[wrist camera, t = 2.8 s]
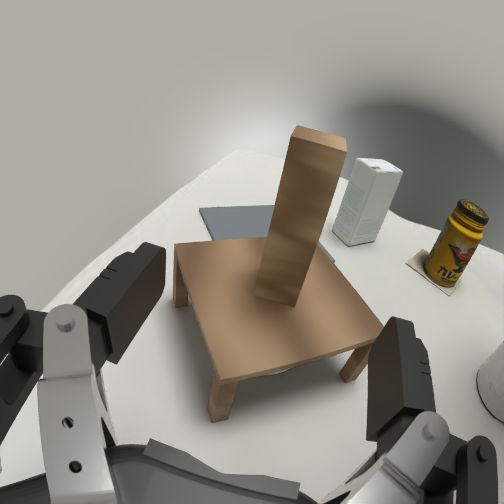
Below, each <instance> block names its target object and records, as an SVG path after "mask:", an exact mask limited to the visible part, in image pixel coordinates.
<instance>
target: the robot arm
mask: <svg viewBox="0 0 504 504" xmlns="http://www.w3.org/2000/svg"><path fill="white" fill-rule="evenodd" d="M165 271H166V250H165V248H163V247H160V246H157V245H154V244H151V243H147V242H144V243H142V244H141V245H140V246H139V248H138V249H137V250H136V251H135V252H134V253H131V252H128V251H127V252H125V253H123V254H121V255H120V256H118V257H116V258H114V259H113V260H112V262H111V263H110V264H109V265H108V266H107V267H106V269H104V270H103V271H102V272H101V273H100V275H99V276H98V277H97V278H96V279H95V280H94V281H93V282H92V283H91V284H90V285H89V286H88V288H87V289H86V290H85V291H84V292H83V293H82V294H81V295H80V297H79V298H78V299H77V300H76V301H75V302H74V303H73V304H64V305H60V306H57V307H55V308H53V309H52V310H51V311H50V312H49V313H46V312H40V311H34V310H28V309H26V306H25V303H24V301H23V300H22V299H21V298H20V297H19V296H16V295H6V296H2V297H0V364H1V362H2V361H3V359H4V358H5V357H6V355H7V354H8V356H7V357H6V358H5V360H4V361H3V363H2V364H1V365H0V445H1V443H2V441H3V440H4V438H5V436H6V434H7V432H8V431H9V429H10V427H11V425H12V423H13V422H14V420H15V418H16V416H17V415H18V413H19V411H20V410H21V408H22V406H23V404H24V403H25V401H26V399H27V398H28V396H29V395H30V393H31V391H32V390H33V388H34V386H35V385H36V383H37V382H38V384H37V396H38V412H39V425H40V435H41V443H42V451H43V458H44V465H45V471H46V473H43V474H40V475H37V476H34V477H31V478H28V479H25V480H22V481H19V482H16V483H13V484H10V485H6V486H3V487H0V504H453V492H454V490H456V489H457V492H456V504H498V475H497V459H496V451H495V448H494V445H493V444H492V442H491V441H490V440H489V439H488V438H486V437H484V436H475V437H474V438H472V439H471V440H469V441H468V442H467V441H465V440H462V439H460V438H458V437H456V436H454V435H452V434H450V433H449V428H448V425H447V423H446V421H445V420H444V419H443V418H442V417H441V416H440V415H439V414H437V413H436V409H435V400H434V392H433V385H432V378H431V376H430V374H431V371H430V366H429V359H428V353H427V350H426V348H425V346H424V344H423V343H422V341H421V339H419V338H416V336H415V330H414V325H413V322H411V321H408V320H404V319H401V318H397V317H391V318H390V319H389V320H388V322H387V323H386V325H385V326H384V328H383V330H382V331H381V333H380V334H379V336H378V337H377V339H376V340H375V342H374V343H373V345H372V347H371V349H370V352H369V356H368V405H367V431H366V440H367V441H374V442H377V449H376V450H374V451H373V452H372V453H371V454H370V456H369V457H368V458H367V459H366V460H365V461H364V462H363V463H362V464H361V465H360V466H359V467H358V468H357V469H356V470H355V471H354V472H353V473H352V474H351V475H350V476H349V477H348V478H347V479H346V480H345V481H344V482H343V483H342V484H341V485H340V486H339V487H337V488H336V489H335V490H334V491H332V492H331V493H329V494H328V495H327V496H326V497H324V498H323V499H322V500H321V501H319V502H318V503H317V502H316V501H314V500H313V499H312V498H311V497H309V496H307V495H306V494H304V493H302V492H300V491H299V487H300V483H298V482H293V481H288V480H283V479H278V478H274V477H269V476H265V475H235V474H223V473H220V472H218V471H216V470H214V469H213V468H211V467H209V466H208V465H206V464H204V463H203V462H201V461H199V460H198V459H196V458H194V457H193V456H191V455H190V454H188V453H187V452H184V451H181V450H179V449H176V448H173V447H171V446H168V445H166V444H163V443H161V442H158V441H156V440H153V439H151V438H150V440H149V442H148V444H147V445H138V444H126V445H118V442H117V438H116V435H115V431H114V428H113V425H112V421H111V418H110V413H109V408H108V403H107V398H106V393H105V387H104V381H103V375H102V370H101V368H102V366H103V364H104V363H105V361H106V360H107V361H110V362H112V363H114V364H116V365H117V363H118V362H119V360H120V359H121V357H122V355H123V354H124V352H125V351H126V349H127V348H128V346H129V344H130V343H131V341H132V340H133V338H134V337H135V335H136V334H137V332H138V331H139V329H140V327H141V326H142V324H143V323H144V321H145V320H146V318H147V317H148V315H149V314H150V312H151V311H152V309H153V308H154V306H155V305H156V303H157V302H158V300H159V299H160V297H161V295H162V293H163V290H164V286H165ZM42 374H43V379H39V378H40V377H41V375H42ZM477 383H478V389H479V393H480V395H481V398H482V400H483V402H484V404H485V405H486V407H487V408H488V410H489V411H490V412H491V413H492V414H493V415H494V416H495V417H496V418H497V419H499V420H501V421H502V422H504V341H503V342H502V343H501V345H500V346H499V347H498V348H497V349H496V350H495V351H494V353H493V354H492V355H491V356H490V357H489V358H488V359H487V360H486V361H485V363H484V364H483V365H482V366H481V367H480V369H479V372H478V376H477ZM1 471H2V466H1V458H0V473H1Z"/></svg>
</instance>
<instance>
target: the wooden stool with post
mask: <svg viewBox="0 0 504 504" xmlns="http://www.w3.org/2000/svg"><path fill="white" fill-rule="evenodd" d="M346 154H347V147H346V140H345V139H344V138H341V137H338V136H334V135H331V134H327V133H324V132H320V131H317V130H313V129H309V128H306V127H302V126H296V128H295V130H294V131H293V133H292V135H291V138H290V142H289V146H288V151H287V155H286V159H285V163H284V168H283V172H282V176H281V180H280V185H279V189H278V193H277V197H276V201H275V206H274V210H273V214H272V218H271V222H270V227H269V231H268V235H267V237H256V238H242V239H229V240H216V241H204V242H191V243H179V244H174V273H173V300H174V304H175V307H183V306H188V295H189V298H190V301H191V305H192V308H193V311H194V314H195V317H196V320H197V322H198V325H199V328H200V331H201V334H202V337H203V340H204V343H205V346H206V348H207V351H208V354H209V357H210V359H211V362H212V365H213V368H214V372H213V378H212V384H211V391H210V397H209V404H208V412H209V415H210V418H211V420H212V423H214V422H218V421H222V420H227V419H228V416H229V413H230V410H231V406H232V403H233V399H234V396H235V392H236V389H237V386H238V382H239V381H240V380H245V379H249V378H253V377H257V376H262V375H266V374H270V373H274V372H277V371H281V370H285V369H289V368H293V367H296V366H300V365H303V364H307V363H310V362H314V361H317V360H321V359H324V358H327V357H330V356H334V355H337V354H340V353H343V352H346V351H349V350H352V349H355V350H354V351H353V353H352V355H351V356H350V358H349V359H348V361H347V362H346V364H345V365H344V367H343V368H342V370H341V371H340V375H341V376H342V378H343V379H344V381H345V383H347V382H350V381H352V380H355V379H356V378H357V377H358V376H359V374H360V373H361V372H362V370H363V369H364V368H365V366H366V365H367V364H368V356H369V352H370V349H371V347H372V345H373V343H374V342H375V340H376V339H377V337H378V336H379V334H380V333H381V331H382V330H383V328H384V326H383V325H382V323H381V322H380V321H379V319H378V318H377V317H376V316H375V314H374V313H373V312H372V310H371V309H370V308H369V307H368V305H367V304H366V303H365V302H364V300H363V299H362V298H361V296H360V295H359V294H358V293H357V291H356V290H355V289H354V288H353V286H352V285H351V284H350V283H349V281H348V280H347V279H346V278H345V277H344V275H343V274H342V273H341V272H340V270H339V269H338V268H337V267H336V265H335V264H334V263H333V262H332V261H331V259H330V258H329V257H328V256H327V255H326V253H325V252H324V251H323V250H322V249H321V247H320V246H319V245H318V241H319V238H320V235H321V232H322V229H323V226H324V223H325V220H326V217H327V214H328V211H329V208H330V205H331V202H332V199H333V196H334V193H335V189H336V186H337V183H338V180H339V177H340V173H341V170H342V167H343V164H344V160H345V157H346Z"/></svg>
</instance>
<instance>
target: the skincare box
mask: <svg viewBox="0 0 504 504" xmlns="http://www.w3.org/2000/svg"><path fill="white" fill-rule="evenodd" d="M402 174H403V172H402V171H401V170H400V169H398V168H397V167H395V166H393V165H392V164H390V163H388V162H387V161H385V160H381V159H365V158H356V161H355V164H354V167H353V171H352V173H351V176H350V180H349V182H348V185H347V188H346V191H345V194H344V197H343V200H342V203H341V206H340V209H339V211H338V214H337V217H336V220H335V223H334V226H333V228H332V231H333V232H334V233H335V234H336V235H337V236H338V237H339V238H340V239H341V240H342V241H343V242H344V243H345V244H346V245H348V246H352V245H356V244H361V243H366V242H371V241H375V239H376V237H377V235H378V233H379V230H380V228H381V226H382V223H383V221H384V218H385V216H386V214H387V211H388V209H389V206H390V204H391V202H392V199H393V197H394V194H395V192H396V189H397V187H398V184H399V182H400V179H401V176H402Z"/></svg>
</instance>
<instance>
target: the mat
mask: <svg viewBox="0 0 504 504" xmlns="http://www.w3.org/2000/svg"><path fill="white" fill-rule="evenodd" d="M274 206H275V205H264V206H234V207H211V208H199V211H200V213H201V215H202V218H203V220H204V222H205V224H206V226H207V228H208V231H209V233H210V235H211V237H212V239H213V241H216V240H229V239H242V238H256V237H267V235H268V231H269V227H270V222H271V218H272V214H273V210H274ZM318 245H319V246H320V247H321V249H322V250H323V251H324V252H325V253H326V255H327V256H328V257H329V258H330V259H331V261H332V262H333V263H334V262H335V260H334V259H333V257H332V256H331V255H330V254H329V253H328V251H327V250H326V249H325V248H324V247H323V246H322V244H321V243H320V242H319V241H318Z"/></svg>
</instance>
